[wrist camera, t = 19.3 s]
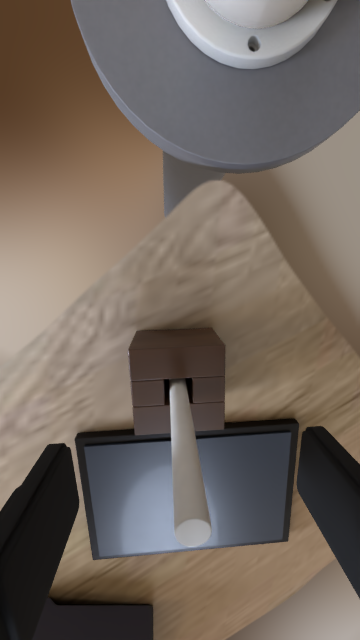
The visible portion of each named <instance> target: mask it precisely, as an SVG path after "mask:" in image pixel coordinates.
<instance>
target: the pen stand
mask: <svg viewBox="0 0 360 640" xmlns="http://www.w3.org/2000/svg"><path fill="white" fill-rule="evenodd" d="M128 358H129V370H130V380H131V393H132V405H133V418H134V430H135V435H148V434H162V433H171V416H170V387H169V379H177V378H185V381H186V386H187V392H188V398H189V403H190V409H191V414H192V420H193V426H194V431H206V430H221V429H224V410H225V402H224V400H225V344H224V343H223V342H222V340H221V339H220V338H219V337H218V335H217V334H216V333H215V331H214V330H213V329H212V328H199V329H176V330H154V331H137V332H136V334H135V336H134V338H133V340H132V342H131V344H130V347H129V349H128Z"/></svg>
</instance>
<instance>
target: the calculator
mask: <svg viewBox="0 0 360 640" xmlns="http://www.w3.org/2000/svg"><path fill="white" fill-rule="evenodd" d="M32 640H153V607H152V606H151V605H56V604H55V603H54V602H53V601H52V600H51V599H50V598H49V597H47V600H46V602H45V605H44V608H43V611H42V614H41V617H40V619H39V622H38V625H37V628H36V631H35V633H34V636H33V639H32Z"/></svg>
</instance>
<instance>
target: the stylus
mask: <svg viewBox="0 0 360 640" xmlns="http://www.w3.org/2000/svg"><path fill="white" fill-rule="evenodd" d="M169 387H170V416H171V445H172V474H173V504H174V533H175V537H176V539H177V541H178V542H179V543H180V544H182V545H184V546H188V547H195V546H199V545H201V544H203V543H205V542H206V541H207V540H208V539H209V538H210V536H211V532H212V527H211V521H210V516H209V510H208V504H207V499H206V493H205V488H204V482H203V476H202V471H201V465H200V459H199V454H198V448H197V443H196V437H195V431H194V426H193V420H192V414H191V409H190V403H189V398H188V392H187V386H186V381H185V378H177V379H169Z"/></svg>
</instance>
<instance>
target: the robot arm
mask: <svg viewBox="0 0 360 640" xmlns="http://www.w3.org/2000/svg"><path fill="white" fill-rule="evenodd" d="M166 1H167V4H168V7H169V9H170V11H171V12H172V14H173V16H174V18H175V20H176V22H177V24H178V26H179V27H180V28H181V29H182V31H183V32H184V33H185V35H186V36H187V37H188V39H189V40H190V41H191V42H192V43H193V44H194V45H195V46H196V47H198V48H199V49H200V50H201V51H202V52H203V53H204V54H206V55H207V56H209V57H211V58H213V59H214V60H216V61H218V62H219V63H222V64H225V65H228V66H231V67H235V68H241V69H258V68H265V67H270V66H273V65H275V64H277V63H280V62H282V61H285V60H287V59H288V58H290V57H291V56H292V55H294V54H295V53H297V52H298V51H300V50H301V49H302V48H303V47H304V46H305V45H306V44H307V43H308V42H309V41H310V40H311V39H312V38H313V37H314V36H315V34H316V33H317V31H318V30H319V29H320V27H321V26H322V24H323V23H324V21H325V20H326V18H327V17H328V15H329V14H330V12H331V10H332V9H333V7H334V5H335V4H336V2H337V0H166ZM297 489H298V492H299V494H300V496H301V498H302V499H303V501H304V503H305V505H306V506H307V508H308V510H309V512H310V513H311V515H312V517H313V518H314V520H315V522H316V524H317V525H318V527H319V529H320V531H321V532H322V534H323V536H324V538H325V539H326V541H327V543H328V544H329V546H330V548H331V550H332V551H333V553H334V555H335V557H336V558H337V560H338V562H339V563H340V565H341V567H342V569H343V570H344V572H345V574H346V576H347V577H348V579H349V581H350V582H351V584H352V586H353V588H354V589H355V591H356V593H357V595H358V596H359V598H360V464H359V463H358V462H357V461H356V460H355V459H354V458H353V457H352V456H351V455H350V454H349V453H348V452H347V451H346V450H345V449H344V448H343V447H342V446H341V444H340V443H339V442H338V441H337V440H336V439H335V438H334V437H333V436H332V435H331V434H330V433H329V432H328V431H327V430H326V429H325V428H324V427H322V426H316V427H307V428H306V430H305V431H303V433H302V440H301V449H300V457H299V466H298V475H297ZM78 509H79V496H78V490H77V484H76V478H75V472H74V466H73V460H72V454H71V449H70V447H66V444H65V443H59V444H49V445H47V447H46V448H45V450H44V451H43V453H42V454H41V456H40V457H39V459H38V460H37V462H36V463H35V465H34V466H33V468H32V469H31V471H30V473H29V474H28V476H27V477H26V479H25V480H24V482H23V483H22V485H21V486H19V487H18V488H16V489H15V491H14V492H13V493H12V495H11V496H10V498H9V499H8V501H7V502H6V504H5V505H4V507H3V508H2V510H1V511H0V640H32V639H33V636H34V633H35V631H36V628H37V625H38V622H39V619H40V617H41V614H42V611H43V608H44V605H45V602H46V600H47V597H48V594H49V591H50V588H51V586H52V583H53V580H54V577H55V574H56V572H57V569H58V566H59V563H60V560H61V558H62V555H63V552H64V549H65V546H66V543H67V541H68V538H69V535H70V532H71V529H72V527H73V524H74V521H75V518H76V515H77V512H78Z"/></svg>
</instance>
